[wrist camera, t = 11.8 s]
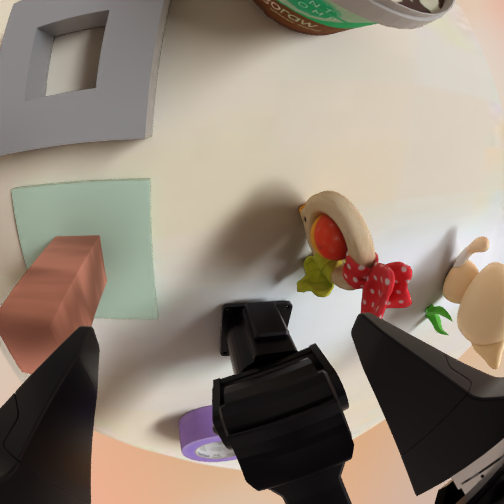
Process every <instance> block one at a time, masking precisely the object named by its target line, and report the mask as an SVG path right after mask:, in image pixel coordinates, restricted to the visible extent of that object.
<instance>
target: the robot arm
mask: <svg viewBox="0 0 504 504" xmlns="http://www.w3.org/2000/svg"><path fill="white" fill-rule="evenodd" d="M286 306H287V307H286ZM227 309H230V310H228V311H227ZM291 311H292V304H291V302H289V301H278V302H260V303H240V304H226V305H224V306H223V307H222V318H221V336H220V354H221V355H222V356H230V358H231V363H232V367H233V371H234V375H232V376H228V377H225V378H222V379H220V378H218V379H215V380H213V389H212V421H213V427H212V429H213V432H214V433H215V434H216V435H218V436H219V437H220V439H221V440H222V442H223V444H224V445H225V447H226V448H227V449H229V450H233V451H234V453H235V455H236V458H237V460H238V462H239V464H240V467H241V469H242V472H243V475H244V477H245V480H246V482H247V483H248V484H250V485H251V486H252V487H253V488H255V489H256V490H258V491H261V490H265V489H269V490H271V491H273V492H274V493H276V494H278V495H280V496H281V497H282V498H283V499H284V501H285V503H286V504H352V503H351V501H350V499H349V496H348V494H347V491H346V488H345V486H344V484H343V481H342V479H341V474H342V471H343V467H344V464H345V462H346V461H348V460H350V459H351V458H352V454H353V449H354V443H353V440H352V435H351V432H350V429H349V427H348V424H347V421H346V418H345V416H344V413H343V411H344V410H346V409H348V408H349V403H348V399H347V395H346V392H345V390H344V387H343V385H342V383H341V381H340V378H339V377H338V375H337V373H336V371H335V370H334V368H333V367H332V366H331V364H330V363H329V361H328V360H327V359H326V357H325V356H324V354H323V353H322V352H321V350H320V349H319V348H318V346H317V345H316V343H315V344H312V345H310V346H309V347H308V348H306V349H303V350H301V351H297V349H296V347H295V344H294V342H293V340H292V338H291V336H290V334H289V331H288V329H287V327H288V323H289V319H290V315H291ZM351 335H352V338H353V341H354V344H355V347H356V349H357V352H358V355H359V358H360V361H361V364H362V366H363V369H364V371H365V374H366V376H367V378H368V380H369V382H370V385H371V387H372V389H373V391H374V393H375V396H376V398H377V400H378V402H379V405H380V407H381V409H382V412H383V414H384V416H385V418H386V421H387V423H388V425H389V428H390V430H391V433H392V435H393V437H394V440H395V442H396V445H397V447H398V449H399V452H400V455H401V457H402V460H403V462H404V465H405V468H406V470H407V473H408V476H409V478H410V481H411V484H412V486H413V489H414V492H415V494H416V496H418V495H420V494H422V493H424V492H426V491H428V490H430V489H431V488H433V487H435V486H437V485H439V484H440V483H442V482H444V481H445V480H447V479H449V478H450V477H451V478H452V480H451V481H449V482H448V483H447V484H446V485H445V486H443V487H442V488H441V489H439V490H438V493H437V497H436V500H435V504H504V377H502V378H499V377H494V376H491V375H489V374H486V373H484V372H482V371H480V370H477V369H475V368H473V367H471V366H468V365H466V364H464V363H462V362H460V361H458V360H456V359H454V358H453V357H451V356H449V355H447V354H445V353H443V352H441V351H440V350H438V349H436V348H434V347H432V346H430V345H429V344H427V343H425V342H423V341H421V340H419V339H418V338H416V337H414V336H412V335H410V334H408V333H406V332H405V331H403V330H401V329H399V328H397V327H395V326H394V325H392V324H390V323H388V322H386V321H384V320H383V319H381V318H379V317H377V316H375V315H373V314H371V313H369V312H366V313H360V314H359V315H358V316H357V318H356V321H355V323H354V326H353V328H352V331H351ZM224 351H225V352H224ZM99 352H100V350H99V344H98V341H97V338H96V335H95V332H94V329H93V328H92V327H91V326H80V327H78V328H77V329H76V330H75V331H74V332H73V333H72V334H71V335H70V336H69V337H68V338H67V339H66V340H65V341H64V342H63V343H62V344H61V345H60V346H59V347H58V348H57V349H56V350H55V351H54V352H53V353H52V354H51V355H50V356H49V357H48V358H47V359H46V360H45V361H44V362H43V363H42V364H41V365H40V366H39V367H38V368H37V369H36V370H35V371H34V372H33V373H32V374H31V375H30V377H29V378H28V379H27V380H26V381H25V382H24V383H23V384H22V385H21V386H20V387H19V388H18V390H17V391H16V392H15V393H16V394H15V393H14V394H13V395H12V396H11V397H10V398H9V400H8V401H7V402H6V403H5V404H4V405H3V406H2V407H1V408H0V504H91V452H92V436H93V425H94V416H95V407H96V400H97V388H98V367H99Z"/></svg>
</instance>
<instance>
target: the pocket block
mask: <svg viewBox="0 0 504 504" xmlns="http://www.w3.org/2000/svg"><path fill="white" fill-rule="evenodd" d="M170 1H171V0H21V1H19V2H17V3H15V4H14V5H13V7H12V10H11V13H10V16H9V19H8V23H7V26H6V29H5V33H4V37H3V41H2V45H1V49H0V156H3V155H7V154H12V153H17V152H22V151H27V150H33V149H39V148H45V147H52V146H59V145H67V144H76V143H85V142H96V141H109V140H127V139H146V138H148V137H151V136H152V127H153V113H154V101H155V91H156V82H157V74H158V67H159V60H160V53H161V47H162V41H163V35H164V29H165V24H166V19H167V14H168V10H169V5H170ZM100 26H106V28H105V32H104V37H103V42H102V48H101V53H100V59H99V66H98V73H97V81H96V88H92V89H84V90H78V91H72V92H66V93H61V94H56V95H51V96H46V97H45V93H46V84H47V76H48V69H49V63H50V57H51V51H52V46H53V41H54V37H55V36H58V35H62V34H66V33H70V32H75V31H79V30H84V29H89V28H94V27H100Z"/></svg>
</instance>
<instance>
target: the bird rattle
mask: <svg viewBox="0 0 504 504" xmlns="http://www.w3.org/2000/svg"><path fill="white" fill-rule="evenodd" d="M299 213H300V216H301V218H302V220H303V224H304V229H305V233H306V237H307V240H308V243H309V246H310V248H311V251H312V253H313V256H308V257H307V258H306V259H305V261H304V263H303V266H304V270H305V273H306V275H305V276H304V277H303V278H302V279H301V280H300V281H298V282H297V292H306V291H312V292H313V293H314V294H315V295H316V296H318V297H326V296H328V295H329V294H330V293H331V291H332V289H333V287H334V284H335V285H336V286H338V287H340V288H342V289H345V290H355V289H361V288H363V291H362V301H361V313H366V312H369V313H371V314H373V315H375V316H377V317H379V318H381V319H382V317H383V314H384V312H385V309H386V308H406V307H409V306H410V305H411V304H412V300H411V296H410V293H409V291H408V289H407V286H408V283H409V281H410V280H411V277H412V269H411V267H410V266H408V265H405V264H404V263H402V262H393V263H388V264H386V265H385V264H382V263H378V255H377V253H376V252H375V250H374V245H373V241H372V237H371V234H370V232H369V229H368V227H367V225H366V223H365V221H364V219H363V217H362V216H361V214H360V213H359V211H358V210H357V208H356V207H355V206H354V205H353V204H352V203H351V202H350V201H349V200H348V199H347V198H346V197H344V196H343V195H341V194H339V193H337V192H334V191H323V192H321V193H318V194H315V195H313V196H312V197H310V198H309V200H308V201H307V203H306V204H304V205H302V206H301V207H300V209H299Z"/></svg>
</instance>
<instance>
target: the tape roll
mask: <svg viewBox="0 0 504 504" xmlns="http://www.w3.org/2000/svg"><path fill="white" fill-rule="evenodd" d="M212 427H213V421H212V406H207V407H202V408H198V409H195V410H193V411H190V412H188V413H187V414H185V415H184V416H182V417H181V419H180V420H179V433H180V443H181V452H182V454H183V455H184V456H185V457H187V458H189V459H192V460H197V461H203V462H221V461H229V460H235V459H237V458H236V455H235V453H234V451H233V450H229V449H227V448H226V447H225V445H224V444H223V442H222V440H221V439H220V437H219V436H218V435H216V434H215V433H214V432H213V429H212Z"/></svg>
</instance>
